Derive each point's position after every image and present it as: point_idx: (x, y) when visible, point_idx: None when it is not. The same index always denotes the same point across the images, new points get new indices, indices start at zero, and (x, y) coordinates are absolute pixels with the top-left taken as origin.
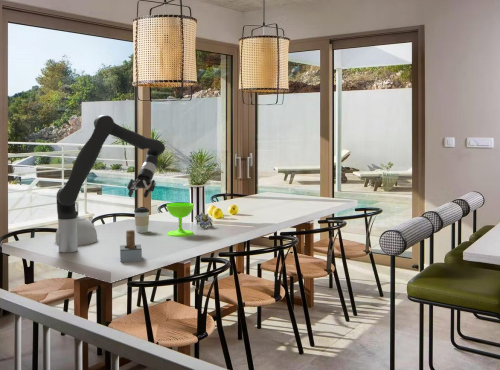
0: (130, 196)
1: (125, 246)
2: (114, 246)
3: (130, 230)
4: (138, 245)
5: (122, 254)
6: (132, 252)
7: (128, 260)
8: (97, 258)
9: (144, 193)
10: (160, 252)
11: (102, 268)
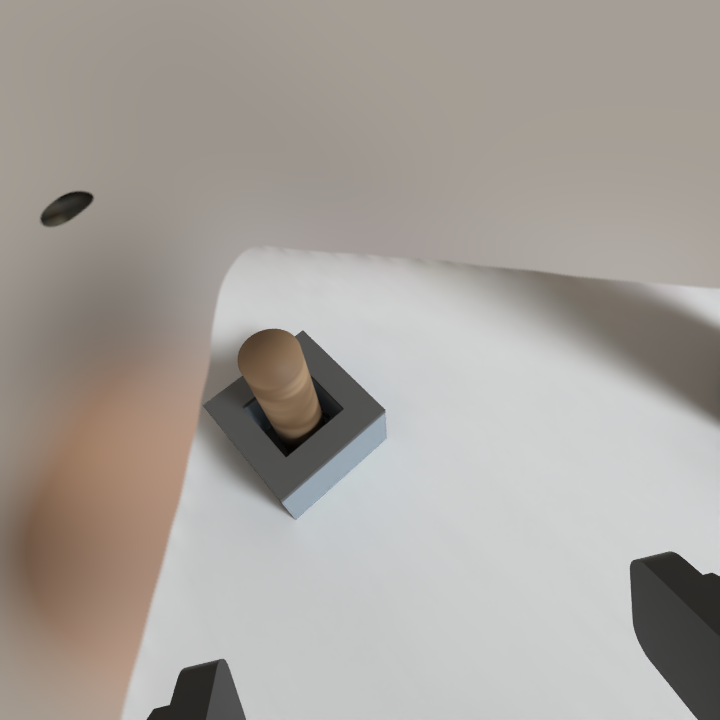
0: (633, 607)
1: (340, 412)
2: None
3: (278, 366)
4: (273, 466)
5: None
6: None
7: None
8: (475, 364)
9: (197, 717)
10: None
11: (312, 259)
